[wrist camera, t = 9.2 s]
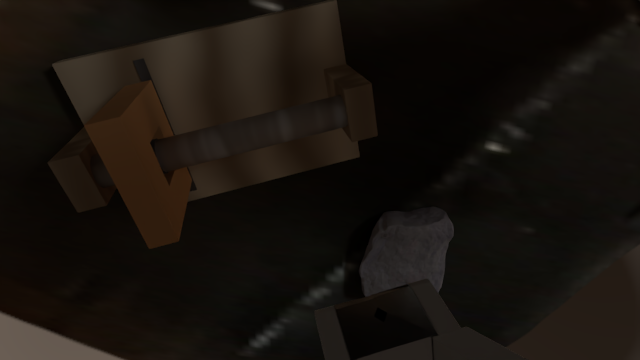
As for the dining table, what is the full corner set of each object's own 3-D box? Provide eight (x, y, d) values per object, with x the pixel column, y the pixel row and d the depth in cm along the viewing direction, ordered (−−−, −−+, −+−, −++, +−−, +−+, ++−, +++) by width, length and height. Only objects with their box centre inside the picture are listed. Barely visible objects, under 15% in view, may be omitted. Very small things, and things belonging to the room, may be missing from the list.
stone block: (353, 280, 49) (431, 282, 49) (356, 307, 45) (441, 310, 45) (360, 199, 44) (447, 202, 44) (365, 221, 40) (460, 224, 40)
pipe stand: (332, -1, 31) (362, 5, 24) (355, 150, 38) (384, 191, 31) (59, 60, 29) (1, 87, 22) (135, 207, 36) (110, 265, 29)
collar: (150, 79, 29) (120, 116, 21) (192, 180, 33) (178, 241, 26) (124, 85, 29) (83, 125, 21) (169, 185, 33) (149, 249, 25)
